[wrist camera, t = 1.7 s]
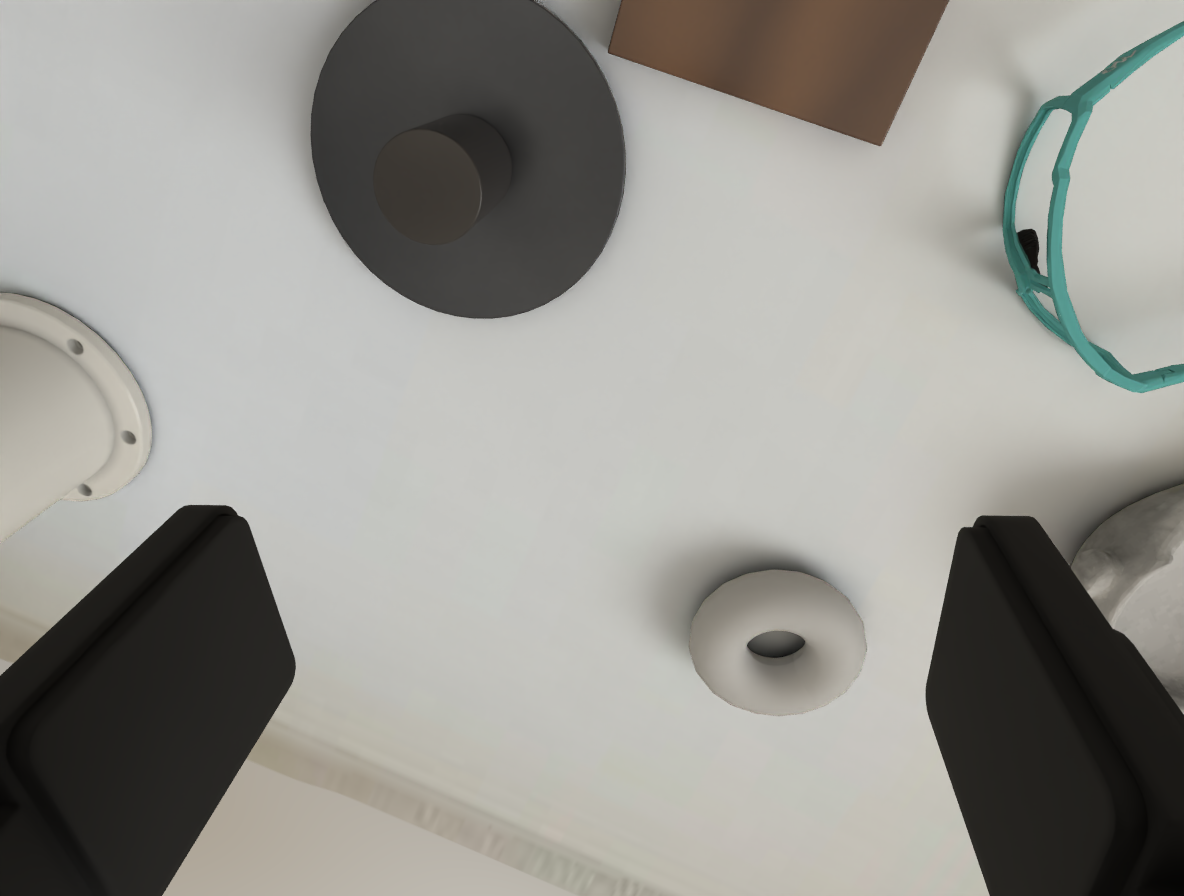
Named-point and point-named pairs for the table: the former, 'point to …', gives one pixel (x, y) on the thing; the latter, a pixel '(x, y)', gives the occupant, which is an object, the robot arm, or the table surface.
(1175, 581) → the dish
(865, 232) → the table surface
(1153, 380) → the sunglasses
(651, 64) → the board
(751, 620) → the donut
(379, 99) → the lid
